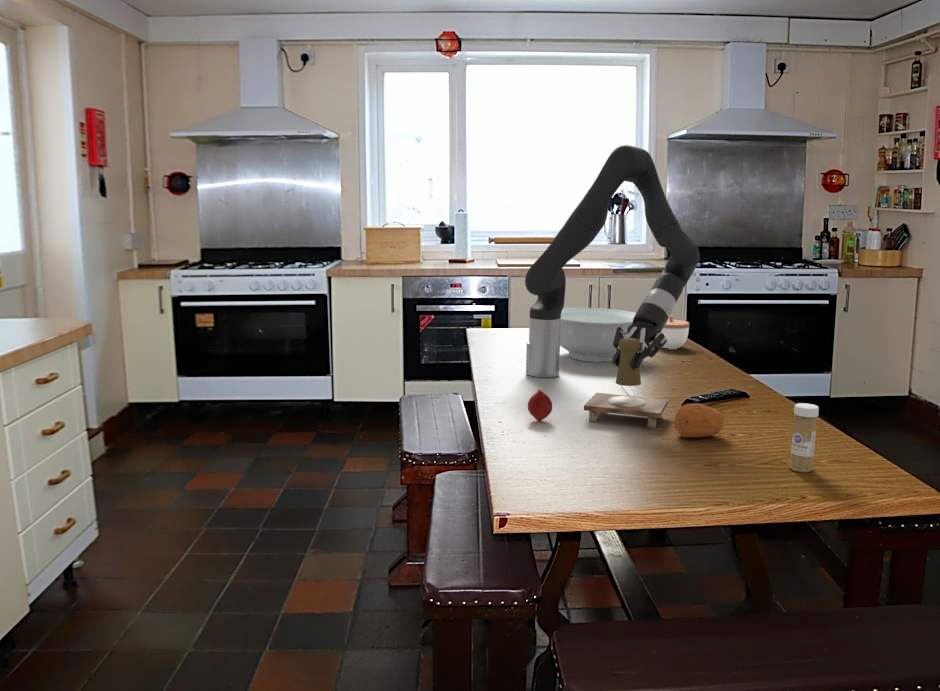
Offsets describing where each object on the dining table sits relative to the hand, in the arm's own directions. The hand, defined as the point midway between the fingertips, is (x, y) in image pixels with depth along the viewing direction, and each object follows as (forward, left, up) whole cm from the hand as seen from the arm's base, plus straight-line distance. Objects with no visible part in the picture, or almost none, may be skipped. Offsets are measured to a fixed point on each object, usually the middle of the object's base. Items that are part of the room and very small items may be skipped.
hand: (624, 365), depth 208 cm
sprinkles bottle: (+41, -22, -14) cm, 48 cm away
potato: (+19, -6, -14) cm, 24 cm away
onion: (-18, -8, -14) cm, 24 cm away
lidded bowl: (-2, +103, -14) cm, 104 cm away
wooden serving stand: (+1, +2, -14) cm, 14 cm away
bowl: (-23, +74, -14) cm, 78 cm away
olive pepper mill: (+1, +2, -5) cm, 5 cm away
